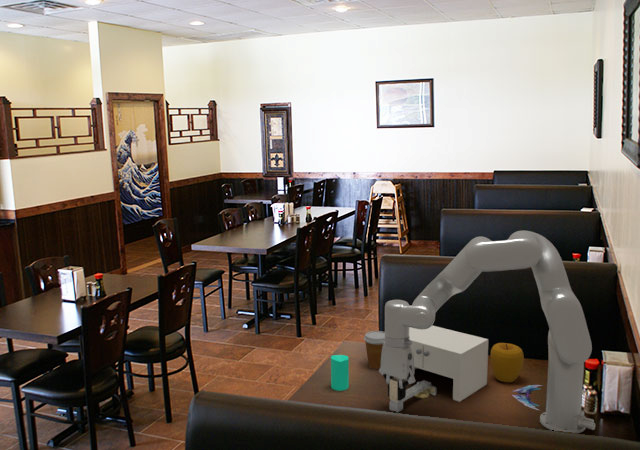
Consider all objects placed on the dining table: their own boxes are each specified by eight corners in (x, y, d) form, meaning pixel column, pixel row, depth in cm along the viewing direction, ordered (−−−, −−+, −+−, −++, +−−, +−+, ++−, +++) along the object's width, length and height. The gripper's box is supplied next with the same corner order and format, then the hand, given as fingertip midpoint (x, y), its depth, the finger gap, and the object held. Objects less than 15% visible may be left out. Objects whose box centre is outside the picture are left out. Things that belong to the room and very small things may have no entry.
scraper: (402, 414, 183) (402, 383, 181) (384, 407, 188) (384, 377, 186) (436, 394, 197) (437, 365, 195) (418, 388, 201) (419, 360, 200)
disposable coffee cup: (361, 369, 218) (361, 337, 216) (367, 359, 227) (367, 329, 225) (387, 372, 215) (387, 340, 213) (391, 362, 224) (392, 331, 222)
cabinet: (486, 384, 204) (488, 339, 202) (458, 402, 191) (459, 354, 188) (417, 363, 223) (418, 322, 221) (387, 378, 210) (387, 334, 207)
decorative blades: (515, 380, 206) (546, 384, 202) (515, 382, 206) (546, 387, 202) (507, 403, 189) (540, 409, 184) (507, 405, 189) (540, 411, 185)
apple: (524, 376, 210) (525, 341, 208) (520, 388, 201) (522, 351, 199) (492, 371, 215) (493, 336, 213) (487, 382, 205) (488, 346, 203)
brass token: (431, 395, 197) (431, 391, 197) (423, 400, 193) (423, 396, 193) (418, 390, 200) (418, 387, 200) (410, 395, 196) (410, 392, 196)
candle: (328, 388, 202) (327, 354, 200) (335, 382, 207) (335, 349, 205) (344, 392, 199) (343, 357, 197) (351, 385, 205) (351, 351, 203)
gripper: (426, 343, 180) (425, 401, 183) (383, 331, 191) (383, 386, 194) (412, 350, 175) (411, 409, 178) (368, 337, 186) (368, 393, 189)
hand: (396, 396), depth 186 cm, fingers closed on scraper, 3 cm apart
